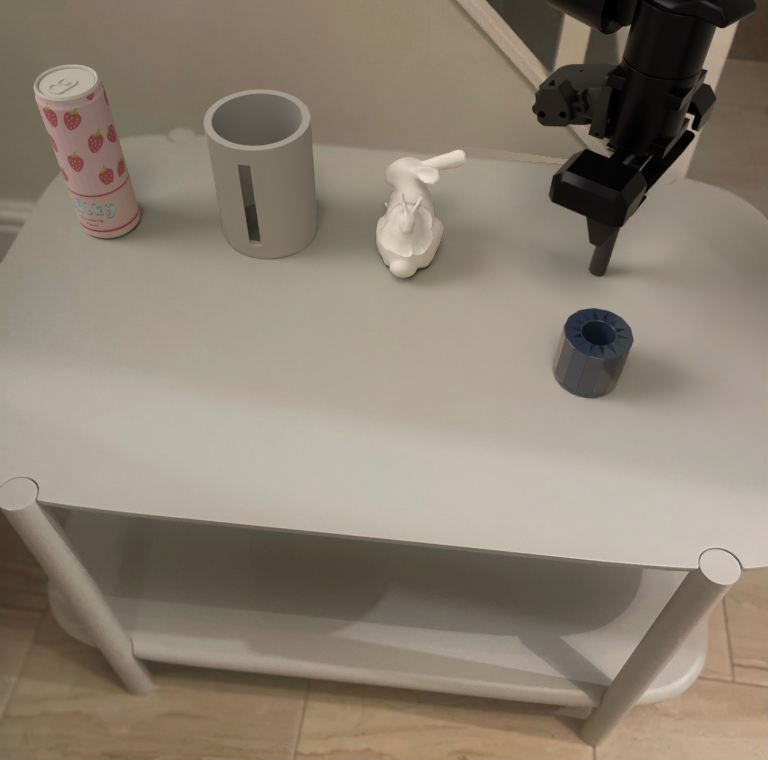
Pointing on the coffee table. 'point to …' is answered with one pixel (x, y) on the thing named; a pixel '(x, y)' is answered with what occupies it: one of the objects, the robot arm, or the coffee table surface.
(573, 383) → the pen cup
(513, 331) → the coffee table surface
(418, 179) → the rabbit figurine
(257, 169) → the cup
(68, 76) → the beverage can
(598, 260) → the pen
